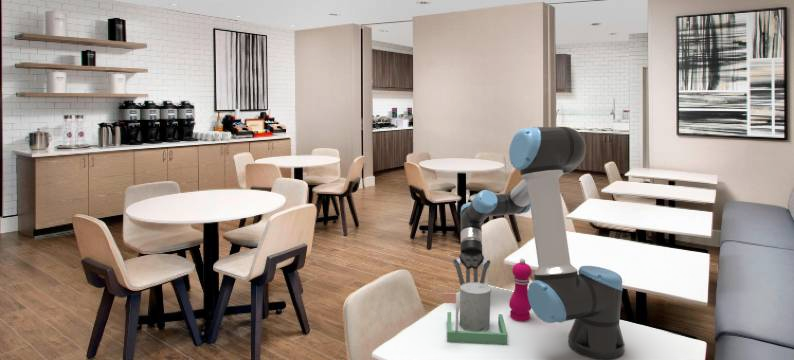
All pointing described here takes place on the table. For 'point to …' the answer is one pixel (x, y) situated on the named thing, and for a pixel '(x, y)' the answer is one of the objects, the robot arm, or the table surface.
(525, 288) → the pepper mill
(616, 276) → the robot arm
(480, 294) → the concrete cylinder
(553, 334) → the table surface
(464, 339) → the putting stop
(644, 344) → the table surface
